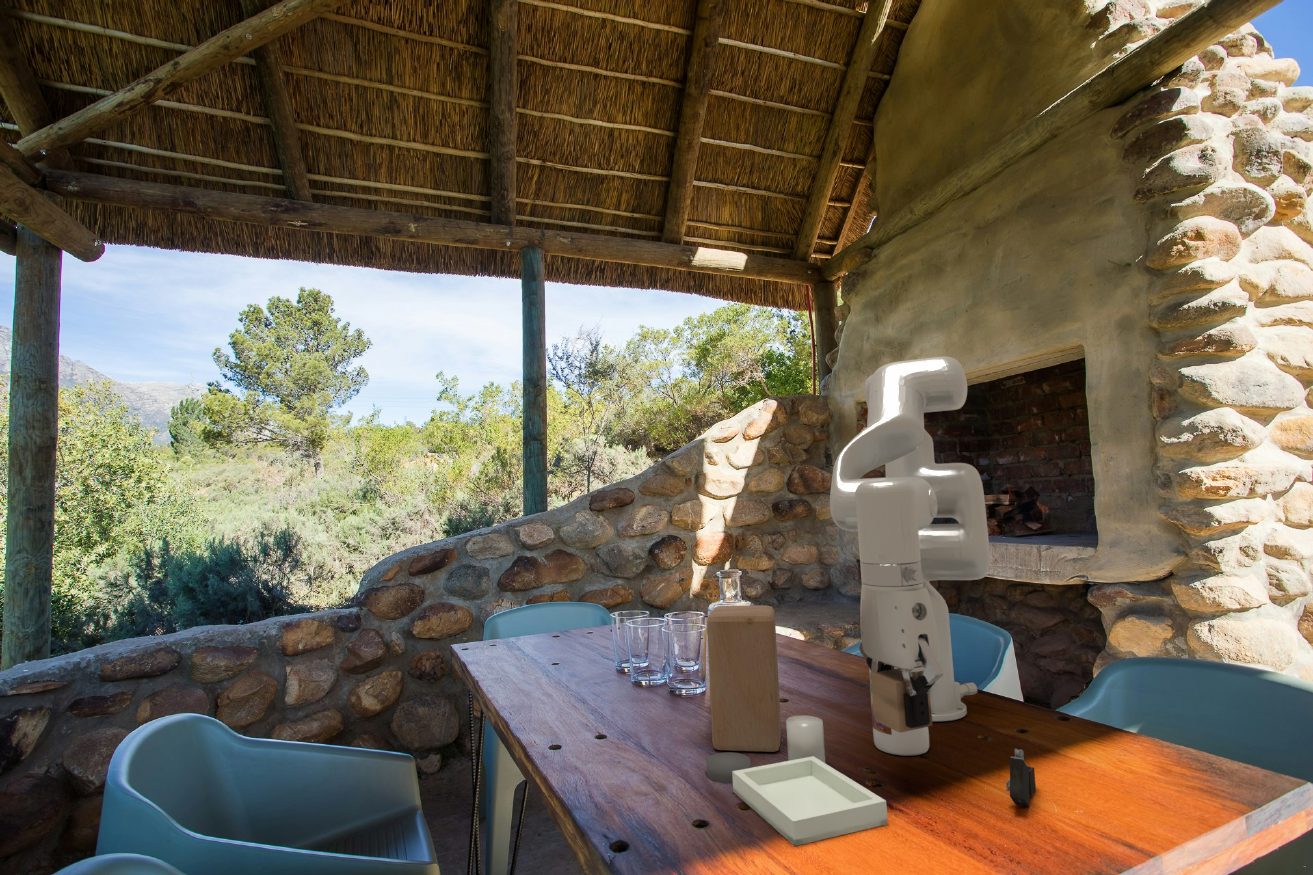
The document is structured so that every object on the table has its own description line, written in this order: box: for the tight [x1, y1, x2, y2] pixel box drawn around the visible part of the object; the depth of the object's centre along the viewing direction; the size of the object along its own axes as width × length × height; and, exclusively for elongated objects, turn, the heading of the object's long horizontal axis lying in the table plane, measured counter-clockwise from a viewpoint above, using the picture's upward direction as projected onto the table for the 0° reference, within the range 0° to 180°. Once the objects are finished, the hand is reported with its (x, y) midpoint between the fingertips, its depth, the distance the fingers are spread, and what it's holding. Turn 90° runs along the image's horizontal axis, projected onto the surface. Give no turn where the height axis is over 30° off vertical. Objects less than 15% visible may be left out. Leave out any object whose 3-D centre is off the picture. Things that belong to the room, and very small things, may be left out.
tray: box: [732, 756, 889, 847], centre depth 81 cm, size 12×15×2 cm
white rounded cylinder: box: [785, 714, 826, 764], centre depth 93 cm, size 5×5×6 cm
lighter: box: [1005, 748, 1037, 808], centre depth 81 cm, size 9×2×6 cm
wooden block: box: [706, 604, 782, 753], centre depth 104 cm, size 10×10×20 cm
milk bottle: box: [868, 662, 930, 757], centre depth 99 cm, size 8×8×20 cm
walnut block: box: [871, 668, 934, 733], centre depth 86 cm, size 5×5×6 cm
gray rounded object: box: [705, 751, 752, 784], centre depth 91 cm, size 6×6×2 cm
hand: (902, 716), depth 86 cm, fingers closed on walnut block, 5 cm apart
